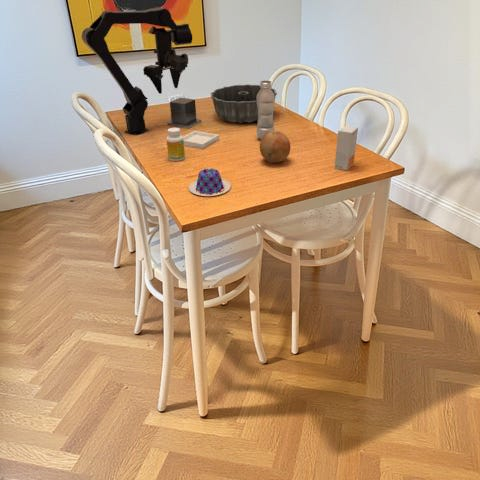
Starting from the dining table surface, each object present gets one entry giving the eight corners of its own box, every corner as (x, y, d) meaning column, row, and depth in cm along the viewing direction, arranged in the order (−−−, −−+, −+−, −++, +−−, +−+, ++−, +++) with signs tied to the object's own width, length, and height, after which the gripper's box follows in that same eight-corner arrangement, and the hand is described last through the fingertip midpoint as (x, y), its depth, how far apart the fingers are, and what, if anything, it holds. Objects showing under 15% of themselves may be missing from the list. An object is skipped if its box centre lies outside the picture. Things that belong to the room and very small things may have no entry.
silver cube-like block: (167, 125, 180) (164, 102, 175) (180, 118, 186) (178, 96, 182) (188, 128, 176) (186, 105, 171) (201, 122, 182) (199, 99, 177)
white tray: (178, 144, 161) (177, 139, 160) (195, 135, 169) (194, 130, 168) (203, 149, 157) (202, 144, 156) (219, 139, 164) (219, 134, 163)
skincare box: (347, 171, 138) (351, 132, 132) (334, 168, 140) (337, 130, 134) (354, 164, 143) (358, 126, 136) (341, 161, 145) (345, 124, 138)
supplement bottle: (182, 161, 148) (179, 132, 142) (166, 160, 148) (163, 131, 143) (187, 155, 152) (184, 127, 147) (171, 154, 153) (168, 126, 148)
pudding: (185, 183, 134) (184, 166, 132) (225, 177, 137) (224, 161, 134) (193, 201, 125) (191, 183, 122) (235, 195, 127) (234, 177, 124)
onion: (291, 156, 149) (292, 126, 144) (288, 168, 141) (289, 137, 136) (262, 154, 151) (262, 125, 146) (257, 166, 143) (257, 135, 138)
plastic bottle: (262, 143, 160) (262, 85, 149) (252, 138, 165) (252, 81, 154) (277, 140, 162) (279, 82, 152) (268, 135, 168) (269, 78, 157)
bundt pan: (218, 130, 174) (217, 104, 168) (206, 111, 195) (205, 87, 190) (284, 123, 179) (285, 97, 173) (265, 105, 200) (265, 82, 195)
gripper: (164, 52, 154) (168, 99, 163) (197, 44, 168) (200, 87, 176) (139, 50, 159) (145, 95, 168) (173, 42, 173) (177, 84, 181)
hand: (168, 90), depth 173 cm, fingers open, 9 cm apart
